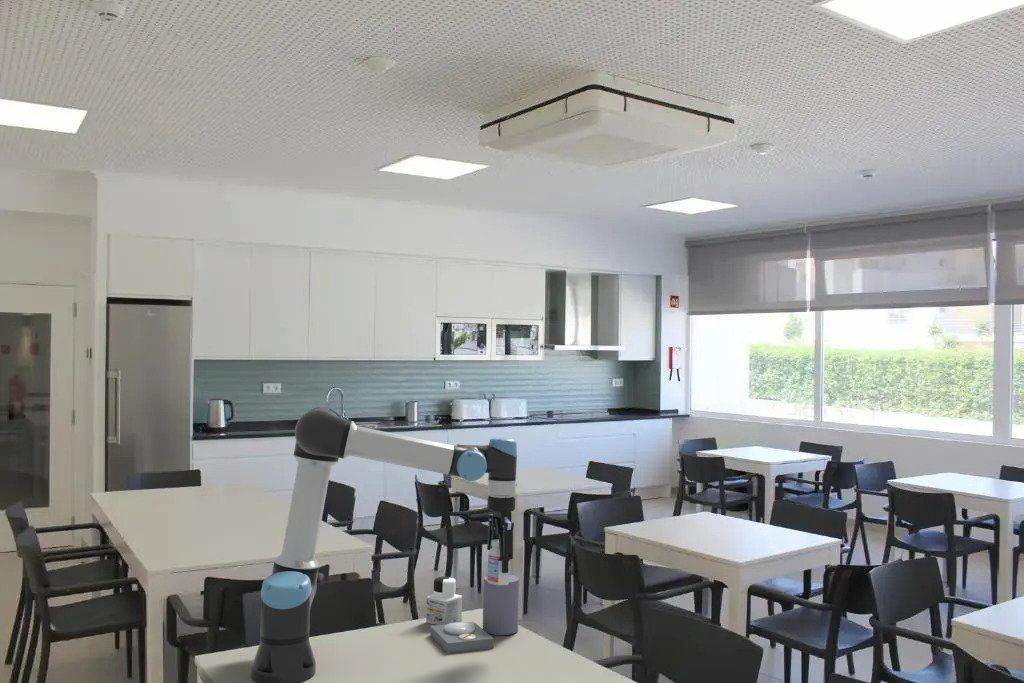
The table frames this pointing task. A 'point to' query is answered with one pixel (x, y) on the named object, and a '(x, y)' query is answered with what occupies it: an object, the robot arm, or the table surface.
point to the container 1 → (444, 603)
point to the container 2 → (501, 607)
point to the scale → (461, 637)
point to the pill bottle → (494, 563)
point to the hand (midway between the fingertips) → (498, 581)
